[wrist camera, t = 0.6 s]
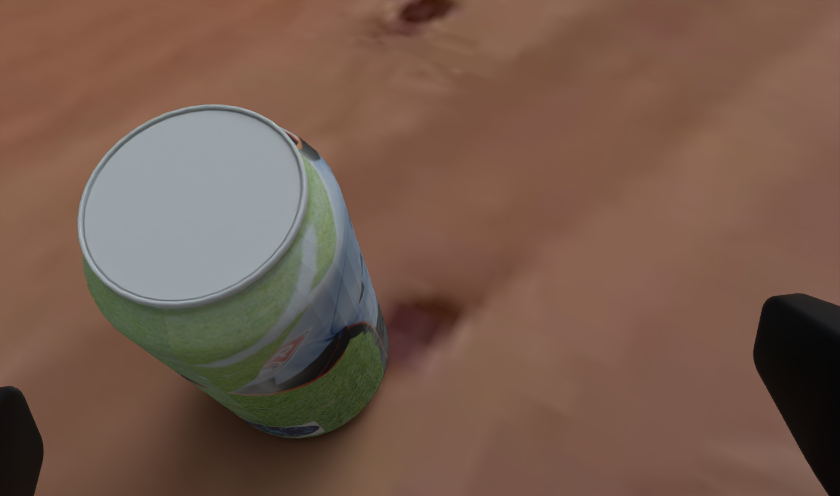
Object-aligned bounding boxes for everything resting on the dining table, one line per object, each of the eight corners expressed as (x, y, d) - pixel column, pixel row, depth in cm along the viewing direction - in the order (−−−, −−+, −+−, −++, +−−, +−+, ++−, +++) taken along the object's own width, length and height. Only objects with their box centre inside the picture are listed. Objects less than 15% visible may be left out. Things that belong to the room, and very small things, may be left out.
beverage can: (413, 320, 26) (413, 79, 16) (335, 511, 22) (271, 350, 12) (264, 272, 27) (176, 19, 17) (165, 446, 23) (-24, 249, 13)
